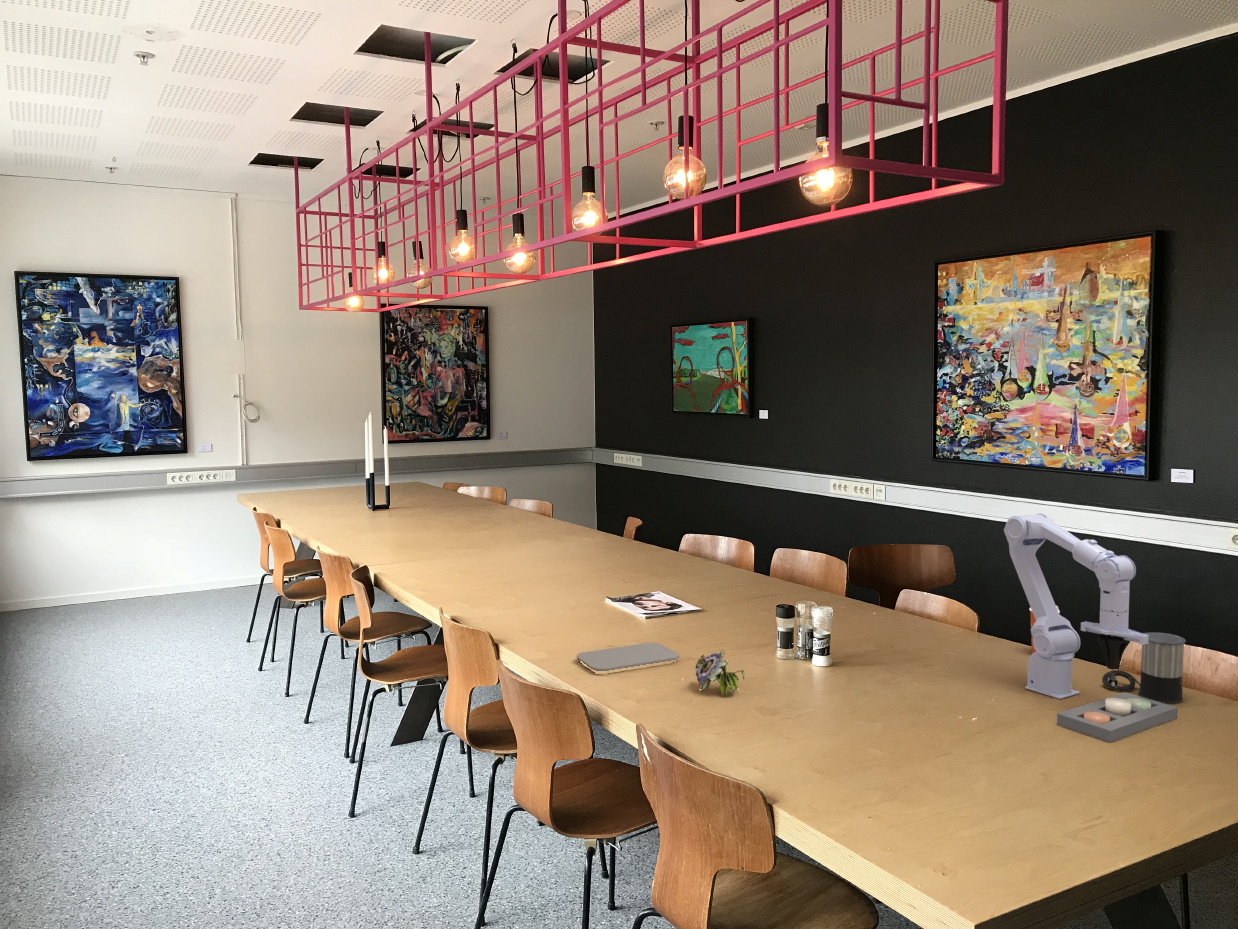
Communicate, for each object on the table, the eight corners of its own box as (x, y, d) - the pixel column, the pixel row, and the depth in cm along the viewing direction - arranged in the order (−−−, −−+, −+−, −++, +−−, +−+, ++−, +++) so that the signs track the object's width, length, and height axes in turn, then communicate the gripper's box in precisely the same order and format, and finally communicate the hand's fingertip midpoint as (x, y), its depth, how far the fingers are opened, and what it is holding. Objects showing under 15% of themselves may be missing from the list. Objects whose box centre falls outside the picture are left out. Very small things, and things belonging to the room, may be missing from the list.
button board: (1056, 724, 199) (1057, 713, 199) (1124, 702, 212) (1124, 692, 212) (1110, 742, 188) (1110, 731, 188) (1177, 718, 202) (1177, 707, 202)
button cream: (1100, 712, 201) (1100, 700, 201) (1113, 708, 204) (1113, 696, 203) (1122, 719, 197) (1122, 707, 196) (1135, 715, 199) (1135, 702, 199)
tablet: (683, 664, 246) (683, 656, 246) (596, 678, 235) (596, 670, 235) (655, 649, 261) (655, 641, 261) (573, 661, 250) (572, 653, 250)
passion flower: (702, 711, 224) (683, 667, 229) (740, 697, 228) (720, 654, 233) (715, 699, 215) (695, 653, 220) (754, 685, 219) (734, 639, 224)
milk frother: (1189, 705, 209) (1192, 643, 208) (1115, 701, 213) (1118, 640, 212) (1166, 686, 223) (1168, 627, 222) (1097, 682, 227) (1099, 624, 225)
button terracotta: (1078, 726, 197) (1079, 714, 197) (1092, 722, 200) (1092, 710, 199) (1100, 734, 193) (1101, 721, 193) (1114, 729, 195) (1114, 716, 195)
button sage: (1120, 712, 205) (1121, 700, 205) (1133, 708, 208) (1133, 696, 207) (1142, 719, 201) (1143, 707, 201) (1155, 715, 203) (1155, 703, 203)
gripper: (1073, 605, 208) (1072, 663, 209) (1136, 618, 195) (1134, 679, 196) (1091, 601, 211) (1089, 658, 212) (1154, 614, 199) (1152, 674, 200)
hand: (1112, 668), depth 205 cm, fingers closed
